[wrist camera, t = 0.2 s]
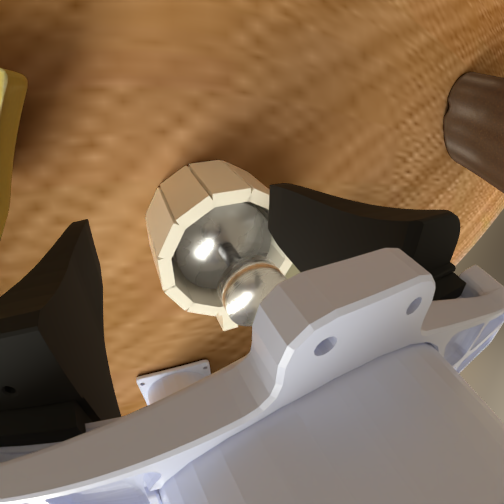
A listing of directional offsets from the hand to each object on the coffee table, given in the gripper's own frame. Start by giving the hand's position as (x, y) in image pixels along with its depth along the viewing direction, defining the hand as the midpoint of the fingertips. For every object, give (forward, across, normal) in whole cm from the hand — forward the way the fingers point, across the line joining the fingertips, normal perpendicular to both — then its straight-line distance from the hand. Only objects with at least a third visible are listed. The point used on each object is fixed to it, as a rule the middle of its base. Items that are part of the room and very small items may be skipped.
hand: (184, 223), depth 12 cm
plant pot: (+10, -36, -3) cm, 37 cm away
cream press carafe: (+10, -4, +7) cm, 13 cm away
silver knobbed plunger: (+6, -4, +6) cm, 9 cm away
